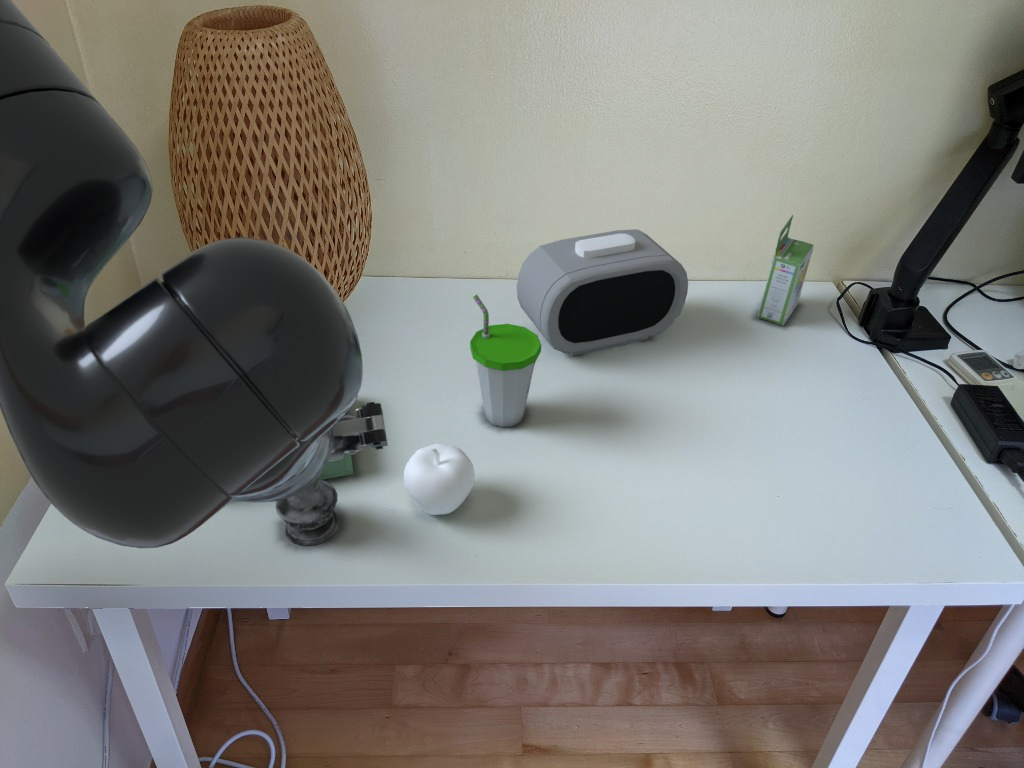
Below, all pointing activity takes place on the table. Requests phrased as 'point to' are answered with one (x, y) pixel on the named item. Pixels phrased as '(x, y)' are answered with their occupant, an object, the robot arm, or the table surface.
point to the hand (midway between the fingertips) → (285, 449)
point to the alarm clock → (601, 290)
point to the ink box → (785, 278)
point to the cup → (504, 368)
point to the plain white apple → (439, 478)
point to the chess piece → (310, 514)
